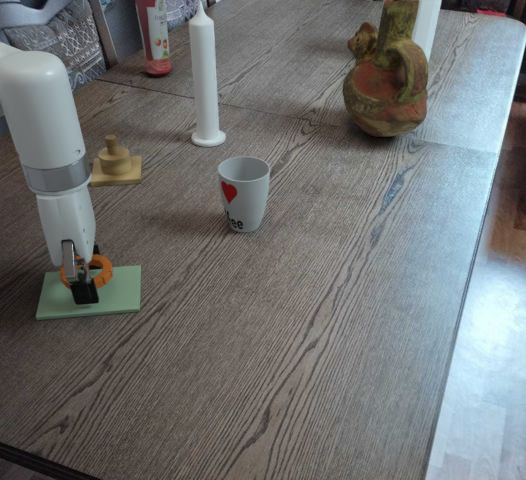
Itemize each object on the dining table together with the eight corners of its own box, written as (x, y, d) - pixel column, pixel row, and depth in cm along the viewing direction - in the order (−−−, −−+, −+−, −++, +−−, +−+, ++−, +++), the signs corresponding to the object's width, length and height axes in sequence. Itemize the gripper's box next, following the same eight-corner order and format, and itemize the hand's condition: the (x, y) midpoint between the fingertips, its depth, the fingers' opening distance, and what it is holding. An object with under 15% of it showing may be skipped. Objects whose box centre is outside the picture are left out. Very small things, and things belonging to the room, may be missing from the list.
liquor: (161, 81, 135) (144, -58, 115) (138, 75, 138) (118, -62, 118) (179, 72, 140) (166, -64, 120) (157, 66, 142) (140, -68, 122)
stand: (91, 186, 100) (82, 150, 95) (95, 163, 106) (87, 127, 101) (141, 183, 101) (135, 147, 96) (142, 160, 107) (136, 124, 102)
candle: (186, 145, 112) (173, 4, 94) (197, 130, 117) (187, -7, 99) (220, 149, 111) (213, 7, 93) (229, 134, 116) (224, -4, 98)
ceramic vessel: (373, 99, 129) (392, -28, 111) (447, 145, 113) (483, 5, 95) (310, 113, 123) (319, -18, 105) (378, 163, 107) (403, 18, 89)
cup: (214, 215, 94) (211, 160, 86) (259, 207, 96) (259, 152, 89) (229, 241, 88) (227, 185, 81) (276, 232, 90) (278, 176, 83)
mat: (36, 320, 75) (35, 317, 75) (46, 275, 82) (45, 272, 82) (140, 311, 77) (139, 308, 76) (141, 268, 84) (140, 264, 83)
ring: (59, 293, 74) (56, 286, 73) (65, 262, 79) (62, 255, 78) (111, 289, 75) (109, 282, 74) (114, 258, 80) (112, 251, 79)
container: (373, 48, 153) (384, -28, 140) (424, 50, 153) (440, -27, 140) (378, 67, 143) (390, -14, 130) (434, 69, 143) (451, -12, 130)
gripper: (35, 138, 71) (69, 251, 84) (11, 210, 59) (55, 329, 72) (94, 135, 72) (119, 247, 85) (82, 205, 60) (113, 324, 73)
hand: (89, 284), depth 78 cm, fingers closed on ring, 7 cm apart
